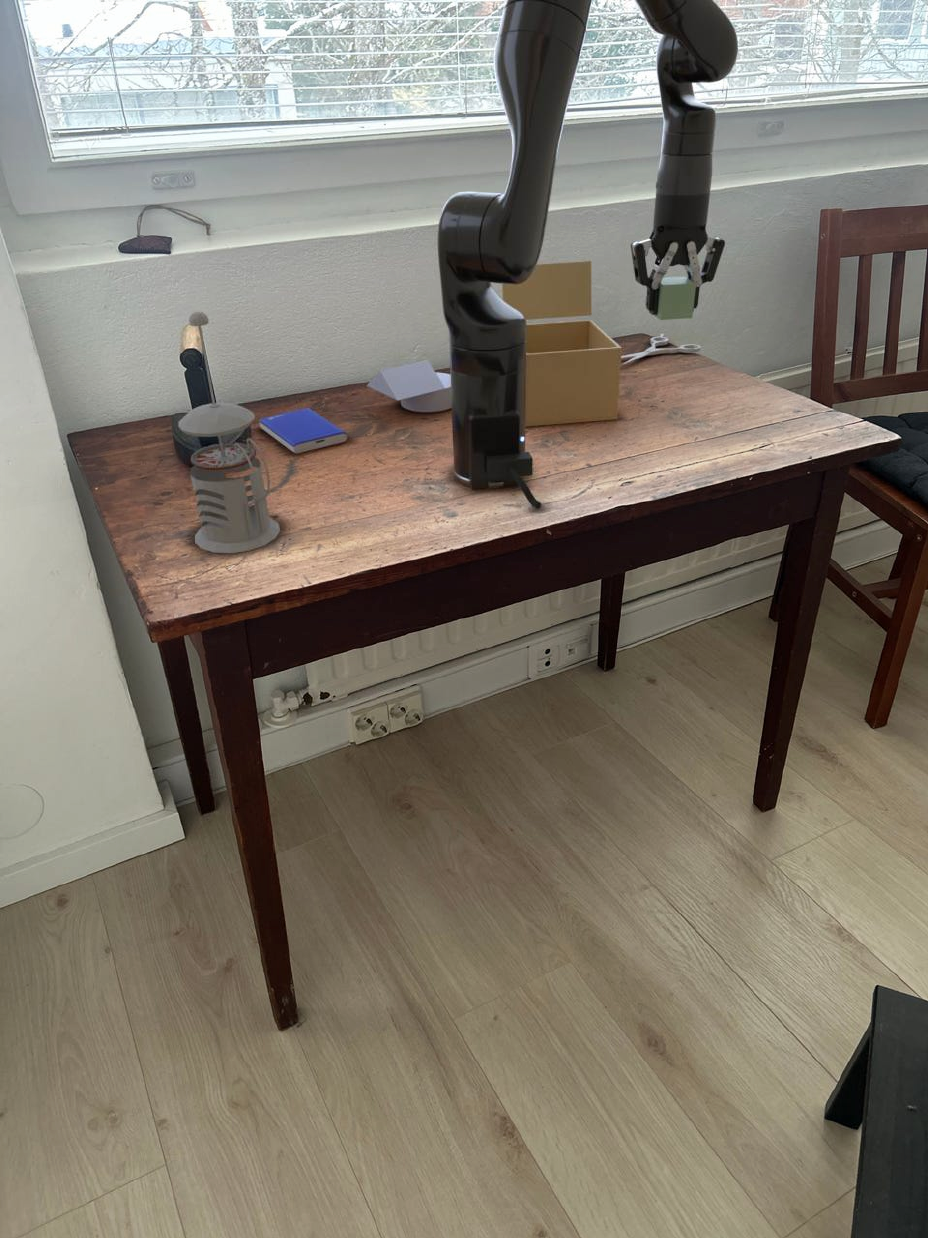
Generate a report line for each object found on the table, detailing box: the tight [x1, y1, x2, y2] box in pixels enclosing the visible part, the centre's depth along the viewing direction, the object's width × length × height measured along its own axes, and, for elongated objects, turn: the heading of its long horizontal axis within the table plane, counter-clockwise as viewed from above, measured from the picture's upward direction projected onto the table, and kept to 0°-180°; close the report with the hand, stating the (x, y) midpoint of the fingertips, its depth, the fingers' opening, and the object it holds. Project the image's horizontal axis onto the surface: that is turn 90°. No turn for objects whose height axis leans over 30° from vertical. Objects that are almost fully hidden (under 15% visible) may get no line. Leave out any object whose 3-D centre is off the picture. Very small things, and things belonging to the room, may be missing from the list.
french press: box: [177, 311, 281, 554], centre depth 96 cm, size 10×12×25 cm
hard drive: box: [258, 407, 348, 454], centre depth 129 cm, size 2×8×12 cm
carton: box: [525, 319, 623, 428], centre depth 135 cm, size 16×14×10 cm
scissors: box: [621, 333, 701, 365], centre depth 158 cm, size 11×1×20 cm
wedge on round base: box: [366, 359, 452, 413], centre depth 138 cm, size 9×7×13 cm
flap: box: [501, 260, 592, 321], centre depth 137 cm, size 8×14×1 cm
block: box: [653, 276, 696, 321], centre depth 134 cm, size 5×5×5 cm
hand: (671, 311), depth 136 cm, fingers closed on block, 5 cm apart
